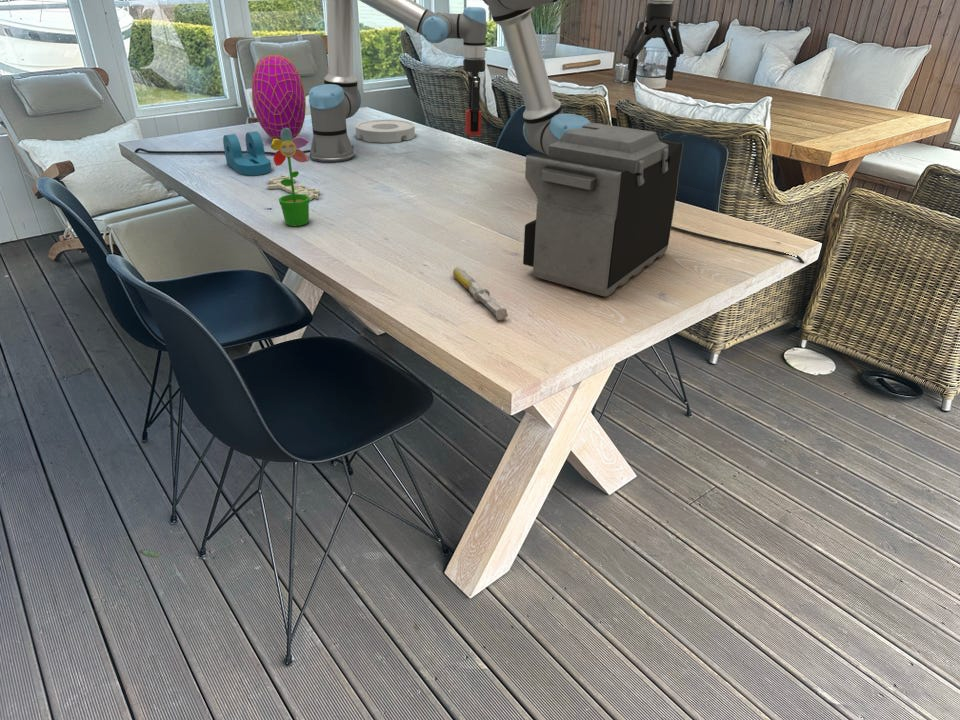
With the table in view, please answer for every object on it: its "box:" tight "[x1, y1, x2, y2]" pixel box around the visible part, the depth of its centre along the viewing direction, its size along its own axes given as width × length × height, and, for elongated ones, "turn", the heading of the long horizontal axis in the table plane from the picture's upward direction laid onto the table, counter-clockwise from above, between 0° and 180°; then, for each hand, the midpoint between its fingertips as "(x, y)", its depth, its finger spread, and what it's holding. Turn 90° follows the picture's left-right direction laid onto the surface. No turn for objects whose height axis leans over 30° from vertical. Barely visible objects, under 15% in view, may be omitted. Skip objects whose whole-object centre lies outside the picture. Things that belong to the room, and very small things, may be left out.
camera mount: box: [222, 131, 272, 176], centre depth 226 cm, size 18×10×10 cm, turn 35°
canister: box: [464, 108, 483, 136], centre depth 242 cm, size 6×6×8 cm
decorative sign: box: [267, 174, 321, 201], centre depth 209 cm, size 26×1×10 cm
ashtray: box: [355, 118, 416, 144], centre depth 271 cm, size 23×23×4 cm
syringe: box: [452, 266, 509, 321], centre depth 145 cm, size 25×4×3 cm, turn 21°
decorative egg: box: [251, 54, 307, 141], centre depth 257 cm, size 19×19×30 cm
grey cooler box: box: [522, 122, 685, 297], centre depth 153 cm, size 37×22×30 cm, turn 144°
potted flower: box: [270, 128, 310, 227], centre depth 177 cm, size 9×8×25 cm
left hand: (473, 129), depth 243 cm, fingers closed on canister, 6 cm apart
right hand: (650, 80), depth 210 cm, fingers open, 13 cm apart
